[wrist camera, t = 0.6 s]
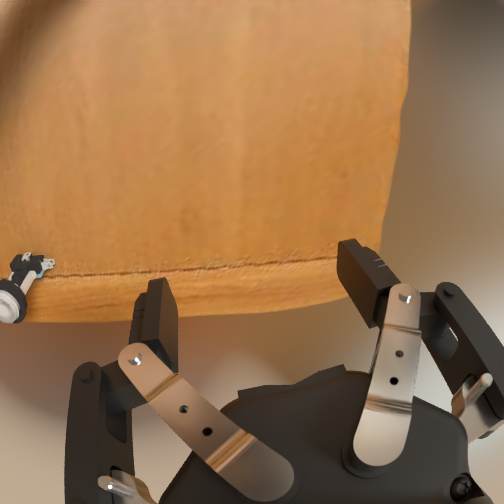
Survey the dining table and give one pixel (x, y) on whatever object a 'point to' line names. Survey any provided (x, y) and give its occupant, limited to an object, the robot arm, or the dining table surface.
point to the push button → (20, 285)
